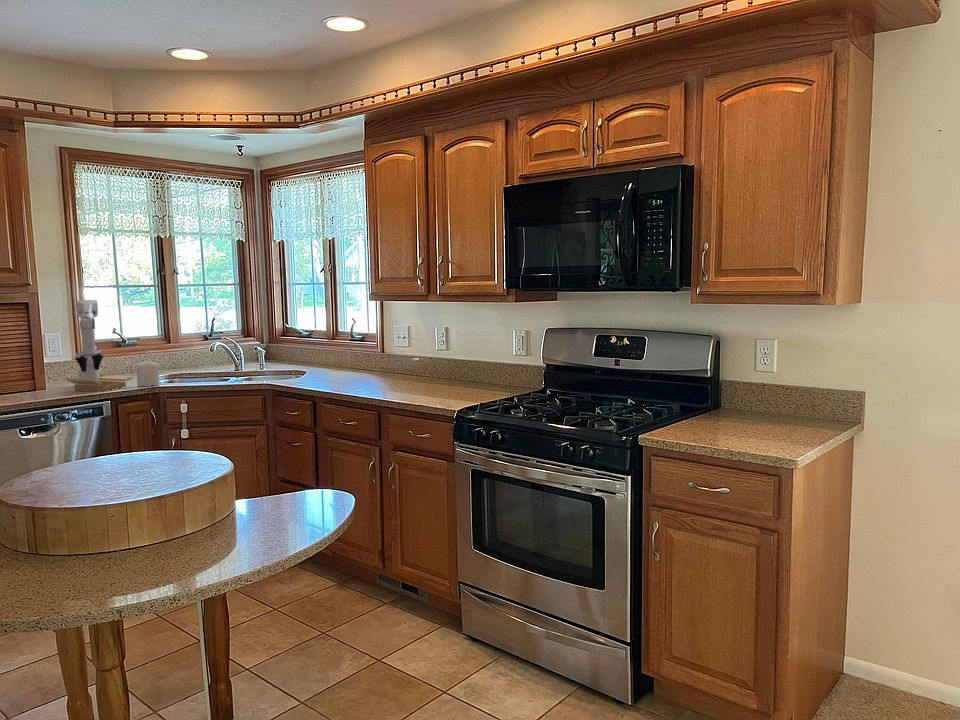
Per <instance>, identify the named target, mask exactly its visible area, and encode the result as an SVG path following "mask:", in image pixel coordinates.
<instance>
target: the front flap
mask: <svg viewBox="0 0 960 720" xmlns="http://www.w3.org/2000/svg"><path fill="white" fill-rule="evenodd" d="M65 380H66V381H68V382H70V383H72V384H73V385H74V384H93V385H102V383H101V382H99V381H97V380H95V379H81V378H79V377H75V378H74V377H66V378H65Z"/></svg>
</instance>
